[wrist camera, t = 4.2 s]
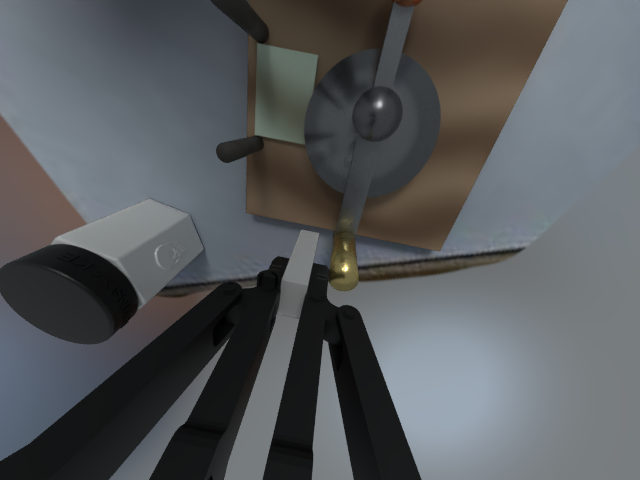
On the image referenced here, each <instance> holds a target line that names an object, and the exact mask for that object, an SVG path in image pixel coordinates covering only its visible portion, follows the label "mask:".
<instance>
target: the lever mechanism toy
mask: <svg viewBox="0 0 640 480" xmlns="http://www.w3.org/2000/svg"><path fill="white" fill-rule="evenodd" d="M211 1H212V2H213V4H214V5H215V6H216V7H218V8H219V9H220V10H221V11H222V12H223V13H225V14H226V15H227V16H228V17H229V18H230V19H232V20H233V21H234V22H235V23H236V24H237V25H238V26H240V27H241V28H242V29H243V30H244V31H245V32H247V33H248V104H247V138H243V139H238V140H233V141H229V142H224V143H220V144H219V145H218V146H217V148H216V153H217V156H218V158H219V159H220V160H221V161H223V162H225V163H229V162H232V161H235V160H237V159H240V158H242V157H245V156H247V186H246V213H248V214H254V215H259V216H264V217H269V218H274V219H279V220H284V221H289V222H294V223H299V224H304V225H309V226H314V227H319V228H324V229H329V230H334V231H335V229H336V225H337V221H338V216H339V212H340V207H341V203H342V199H343V193H341V192H339V191H337V190H335V189H333V188H332V187H331V186H329V185H328V184H327V183H326V182H325V181H324V180H323V179H322V178H321V177H320V176H319V175H318V173H317V172H316V171H315V169H314V167H313V166H312V164H311V161H310V159H309V157H308V153H307V150H306V146H305V140H304V122H305V116H306V111H307V107H308V104H309V101H310V99H311V96H312V94H313V92H314V90H315V88H316V87H317V85H318V83H319V82H320V81H321V79H322V78H323V77H324V75H325V74H326V73H327V72H328V71H329V70H330V69H331V68H332V67H333V66H335V65H336V64H337V63H338V62H340V61H341V60H343V59H345V58H346V57H348V56H350V55H352V54H355V53H357V52H360V51H364V50H368V49H379V48H382V45H383V41H384V37H385V33H386V29H387V24H388V20H389V16H390V12H391V8H392V2H391V0H249V4H248V2H247V1H246V0H211ZM567 1H568V0H423V1H422V2H421V3H420V4H418V5H416V6H415V7H414V10H413V13H412V17H411V21H410V24H409V28H408V32H407V35H406V39H405V42H404V46H403V50H402V53H403V54H405V55H407V56H409V57H411V58H412V59H414V60H415V61H417V62H418V63H419V64H420V65H421V66H422V67H423V68H424V69H425V70H426V72H427V73H428V75H429V76H430V77H431V79H432V81H433V83H434V85H435V87H436V90H437V93H438V96H439V102H440V109H441V121H440V130H439V135H438V139H437V142H436V145H435V147H434V150H433V152H432V154H431V156H430V158H429V159H428V161H427V163H426V164H425V165H424V167H423V168H422V169H421V171H420V172H419V173H418V174H417V175H416V176H415V177H414V178H413V179H412V180H411V181H409V182H408V183H407V184H405V185H404V186H402V187H401V188H399V189H397V190H395V191H393V192H391V193H388V194H386V195H382V196H378V197H371V198H366V200H365V204H364V208H363V211H362V215H361V218H360V222H359V225H358V229H357V232H356V235H360V236H365V237H370V238H375V239H380V240H385V241H390V242H395V243H400V244H405V245H410V246H415V247H420V248H425V249H430V250H435V251H440V250H441V248H442V246H443V244H444V242H445V240H446V238H447V236H448V234H449V232H450V230H451V228H452V226H453V224H454V223H455V221H456V219H457V217H458V215H459V213H460V211H461V209H462V207H463V205H464V203H465V201H466V199H467V197H468V195H469V193H470V191H471V189H472V187H473V185H474V183H475V181H476V179H477V177H478V175H479V174H480V172H481V170H482V168H483V166H484V164H485V162H486V160H487V158H488V156H489V154H490V152H491V150H492V148H493V146H494V144H495V142H496V140H497V138H498V136H499V134H500V132H501V130H502V128H503V126H504V125H505V123H506V121H507V119H508V117H509V115H510V113H511V111H512V109H513V107H514V105H515V103H516V101H517V99H518V97H519V95H520V93H521V91H522V89H523V87H524V85H525V83H526V81H527V79H528V77H529V76H530V74H531V72H532V70H533V68H534V66H535V64H536V62H537V60H538V58H539V56H540V54H541V52H542V50H543V48H544V46H545V44H546V42H547V40H548V38H549V36H550V34H551V32H552V30H553V29H554V27H555V25H556V23H557V21H558V19H559V17H560V15H561V13H562V11H563V9H564V7H565V5H566V3H567Z"/></svg>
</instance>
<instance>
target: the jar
mask: <svg viewBox="0 0 640 480" xmlns="http://www.w3.org/2000/svg"><path fill="white" fill-rule="evenodd" d="M203 250H204V248H203V245H202V243H201V241H200V238H199V236H198V234H197V231H196V229H195V226H194V224H193V222H192V219H191V217H190V215H189V214H187V213H184V212H182V211H179V210H177V209H174V208H172V207H169V206H167V205H164V204H162V203H159V202H157V201H154V200H152V199H147V200H144V201H142V202H139V203H137V204H135V205H132V206H130V207H127V208H125V209H123V210H120V211H118V212H115V213H113V214H111V215H108V216H106V217H103V218H101V219H99V220H96V221H94V222H91V223H89V224H87V225H84V226H82V227H79V228H77V229H75V230H72V231H70V232H67V233H65V234H62V235H60V236H58V237H56V238H55V239H54V241H53V242H52V243H51V245H49V246H47V247H44V248H42V249H39V250H37V251H35V252H33V253H30V254H28V255H26V256H23V257H21V258H19V259H17V260H14V261H12V262H10V263H7V264H6V265H4V266H3V267H2V268H1V269H0V293H1V295H2V296H3V298H4V299H5V301H6V302H7V303H8V304H9V305H10V306H11V308H13V310H14V311H15V312H17V313H18V314H19V315H20V316H21V317H22V318H24V319H25V320H26V321H28V322H29V323H31V324H32V325H34V326H35V327H37V328H39V329H40V330H42V331H44V332H46V333H48V334H50V335H52V336H55V337H57V338H60V339H63V340H66V341H70V342H74V343H79V344H98V343H101V342H104V341H106V340H108V339H109V338H110V337H111V336H113V335H114V334H115V333H116V332H117V331H118V330H119V329H120V328H122V327H123V326H125V325H126V324H127V322H128V321H129V320H130V319H131V318H132V317H133V316H134V314H135V313H136V312H137V311H138V310H139V309H140V308H141V307H143V306H144V305H145V304H146V303H148V302H149V301H150V300H151V299H152V298H153V297H154V296H155V295H156V294H157V293H158V292H159V291H160V290H162V289H163V288H164V287H165V286H166V285H167V284H168V283H169V282H170V281H171V280H172V279H173V278H174V277H175V276H176V275H177V274H179V273H180V272H181V271H182V270H183V269H184V268H185V267H186V266H187V265H188V264H189V263H190V262H191V261H192V260H193V259H194V258H196V257H197V256H198V255H199V254H200V253H201V252H202V251H203Z"/></svg>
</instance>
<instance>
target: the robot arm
mask: <svg viewBox="0 0 640 480" xmlns="http://www.w3.org/2000/svg"><path fill="white" fill-rule="evenodd" d="M318 237H319V233H316V232H312V231H307V230H302V229H301V231H300V234H299V237H298V239H297V242H296V244H295V247H294V250H293V252H292V255H291V257H290V259H289V258H284V257H279V256H278V257H276V258H275V259H274V260H273V261H272V263H271V265H270V267H269V269H268V270H264V271H262V272H260V273H259V274H258V275H257V287H254V288H246V289H242V287H241V286H240V285H239V284H238V283H235V282H226V283H223V284H221V285H220V286H218V287H217V288H216V289H215V290H214V291H212V292H211V293H210V294H209V295H207V296H206V297H205V298H204V299H203V300H201V301H200V302H199V303H198V304H197V305H196V306H194V307H193V308H192V309H191V310H190V311H188V312H187V313H186V314H185V315H184V316H182V317H181V318H180V319H179V320H178V321H176V322H175V323H174V324H173V325H172V326H170V327H169V328H168V329H167V330H166V331H164V332H163V333H162V334H161V335H160V336H158V337H157V338H156V339H155V340H153V341H152V342H151V343H150V344H149V345H147V346H146V347H145V348H144V349H143V350H141V352H139V353H138V354H137V355H135V356H134V357H133V358H132V359H131V360H129V361H128V362H127V363H126V364H125V365H123V366H122V367H121V368H120V369H119V370H117V371H116V372H115V373H114V374H113V375H111V376H110V377H109V378H108V379H107V380H105V381H104V382H103V383H102V384H101V385H99V386H98V387H97V388H96V389H95V390H93V391H92V392H91V393H90V394H89V395H87V396H86V397H85V398H84V399H82V400H81V401H80V402H79V403H78V404H76V405H75V406H74V407H73V408H72V409H70V410H69V411H68V412H67V413H66V414H64V415H63V416H62V417H61V418H60V419H58V420H57V421H56V422H55V423H54V424H53V425H51V426H50V427H49V428H48V429H46V430H45V431H44V432H43V433H42V434H40V435H39V436H38V437H37V438H36V439H34V440H33V441H32V442H31V443H30V444H28V445H27V446H25V447H23V448H22V449H20V450H18V451H17V452H15V453H13V454H12V455H10V456H8V457H7V458H5V459H3V460H2V461H0V480H109V479H110V477H111V476H112V475H113V474H114V473H115V472H116V471H117V469H118V468H119V467H120V466H121V464H123V462H124V461H125V460H126V459H127V458H128V456H129V455H130V454H131V453H132V451H134V449H135V448H136V447H137V446H138V445H139V444H140V442H141V441H142V440H143V439H144V438H145V436H146V435H147V434H148V433H149V432H150V431H151V429H152V428H153V427H154V426H155V425H156V424H157V422H158V421H159V420H160V419H161V418H162V417H163V415H164V414H165V413H166V412H167V411H168V409H169V408H170V407H171V406H172V405H173V404H174V402H175V401H176V400H177V399H178V398H179V396H180V395H181V394H182V393H183V392H184V391H185V389H186V388H187V387H188V386H189V385H190V384H191V382H192V381H193V380H194V379H195V378H196V376H197V375H198V374H199V373H200V372H201V371H202V369H203V368H204V367H205V366H206V365H207V364H208V362H209V361H210V360H211V359H212V358H213V356H214V355H215V354H216V353H217V352H218V351H219V350H220V348H221V347H222V346H223V345H224V344H225V342H226V341H227V340H228V339H229V338H230V339H229V341H228V343H227V345H226V347H225V349H224V350H223V352H222V354H221V356H220V358H219V360H218V362H217V364H216V366H215V368H214V370H213V372H212V374H211V376H210V378H209V379H208V381H207V383H206V385H205V387H204V389H203V391H202V393H201V395H200V397H199V399H198V401H197V403H196V405H195V407H194V408H193V410H192V412H191V414H190V416H189V418H188V420H187V421H186V422H185V424H183V425H182V426H180V427H179V428H178V430H177V431H176V432H175V433H174V435H173V437H172V438H171V440H170V442H169V444H168V446H167V447H166V449H165V451H164V453H163V455H162V457H161V459H160V460H159V462H158V464H157V466H156V468H155V470H154V472H153V473H152V475H151V477H150V479H149V480H224V477H225V473H226V467H227V464H228V460H229V457H230V454H231V451H232V448H233V445H234V442H235V439H236V436H237V433H238V431H239V427H240V425H241V422H242V419H243V416H244V412H245V410H246V407H247V404H248V401H249V398H250V395H251V392H252V389H253V386H254V383H255V380H256V377H257V374H258V371H259V368H260V365H261V362H262V359H263V356H264V353H265V350H266V347H267V344H268V341H269V338H270V335H271V333H272V330H273V326H274V324H275V319H276V314H279V315H283V316H288V317H293V318H298V319H299V324H298V328H297V333H296V337H295V342H294V346H293V350H292V355H291V359H290V364H289V368H288V372H287V377H286V381H285V385H284V390H283V394H282V399H281V403H280V407H279V412H278V416H277V421H276V425H275V430H274V434H273V438H272V442H271V446H270V450H269V454H268V458H267V463H266V467H265V472H264V476H263V480H312V468H313V450H312V446H313V436H314V426H315V415H316V405H317V396H318V385H319V375H320V365H321V356H322V344H323V339H324V340H325V341H327V342H328V345H329V350H330V355H331V360H332V366H333V371H334V377H335V382H336V387H337V392H338V398H339V403H340V408H341V414H342V418H343V424H344V430H345V435H346V440H347V446H348V451H349V456H350V462H351V467H352V472H353V477H354V480H421V477H420V475H419V472H418V469H417V466H416V464H415V461H414V458H413V456H412V453H411V450H410V447H409V445H408V442H407V439H406V437H405V434H404V431H403V429H402V426H401V423H400V420H399V418H398V415H397V412H396V409H395V407H394V404H393V401H392V399H391V396H390V393H389V390H388V388H387V385H386V382H385V380H384V377H383V374H382V371H381V369H380V366H379V363H378V361H377V358H376V355H375V352H374V350H373V347H372V344H371V342H370V339H369V336H368V333H367V331H366V328H365V325H364V323H363V320H362V317H361V315H360V313H359V311H358V310H357V309H356V308H354V307H352V306H349V305H343V306H341V307H337V306H335V305H333V304H331V303H330V302H329V301H328V299H327V285H328V275H329V270H328V268H327V266H325V265H320V264H315V263H313V262H314V257H315V252H316V247H317V242H318ZM277 311H278V313H277Z"/></svg>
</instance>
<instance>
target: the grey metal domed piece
mask: <svg viewBox="0 0 640 480" xmlns="http://www.w3.org/2000/svg"><path fill="white" fill-rule="evenodd" d="M422 1H423V0H391V2H392V8H391V12H390V16H389V20H388V24H387V29H386V33H385V37H384V41H383V45H382V48H379V49H368V50H364V51H360V52H357V53H355V54H352V55H350V56H348V57H346V58H345V59H343V60H341V61H340V62H338V63H337V64H336V65H335V66H333V67H332V68H331V69H330V70H329V71H328V72H327V73H326V74H325V75H324V77H323V78H322V79H321V81H320V82H319V83H318V85H317V87H316V88H315V90H314V92H313V94H312V96H311V99H310V101H309V104H308V107H307V111H306V116H305V122H304V140H305V146H306V150H307V153H308V157H309V159H310V161H311V164H312V166H313V167H314V169H315V171H316V172H317V173H318V175H319V176H320V177H321V178H322V179H323V180H324V181H325V182H326V183H327V184H328V185H329V186H331V187H332V188H333V189H335V190H337V191H339V192H341V193H343V199H342V203H341V207H340V212H339V216H338V221H337V225H336V229H335V232H334V234H333V243H332V254H331V264H330V274H329V282H330V284H331V286H332V287H333V288H335V289H336V290H339V291H349V290H352V289H354V288H355V287H356V286H357V284H358V280H359V279H358V268H357V256H356V244H355V236H356V232H357V229H358V225H359V222H360V218H361V215H362V211H363V208H364V204H365V200H366V198H371V197H378V196H382V195H386V194H388V193H391V192H393V191H395V190H397V189H399V188H401V187H402V186H404V185H405V184H407V183H408V182H409V181H411V180H412V179H413V178H414V177H415V176H416V175H417V174H418V173H419V172H420V171H421V169H422V168H423V167H424V165H425V164H426V163H427V161H428V159H429V158H430V156H431V154H432V152H433V150H434V147H435V145H436V142H437V139H438V135H439V130H440V121H441V109H440V102H439V96H438V93H437V90H436V87H435V85H434V83H433V81H432V79H431V77H430V76H429V75H428V73H427V72H426V70H425V69H424V68H423V67H422V66H421V65H420V64H419V63H418V62H417V61H415V60H414V59H412V58H411V57H409V56H407V55H405V54H403V53H402V50H403V46H404V42H405V39H406V35H407V32H408V28H409V24H410V21H411V17H412V13H413V10H414V7H415V6H416V5H418V4H420V3H421V2H422Z"/></svg>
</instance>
